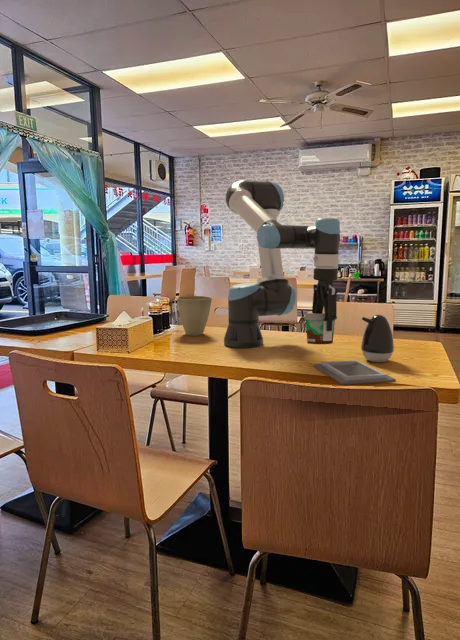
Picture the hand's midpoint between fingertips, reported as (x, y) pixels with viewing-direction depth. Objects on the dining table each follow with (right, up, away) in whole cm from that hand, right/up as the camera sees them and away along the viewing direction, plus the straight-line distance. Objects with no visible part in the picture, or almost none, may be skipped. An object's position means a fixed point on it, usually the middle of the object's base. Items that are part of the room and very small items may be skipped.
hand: (322, 337), depth 146 cm
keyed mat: (+5, -10, -15) cm, 19 cm away
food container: (0, -2, -1) cm, 2 cm away
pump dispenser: (+18, -8, 0) cm, 19 cm away
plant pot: (-46, 0, +47) cm, 66 cm away
